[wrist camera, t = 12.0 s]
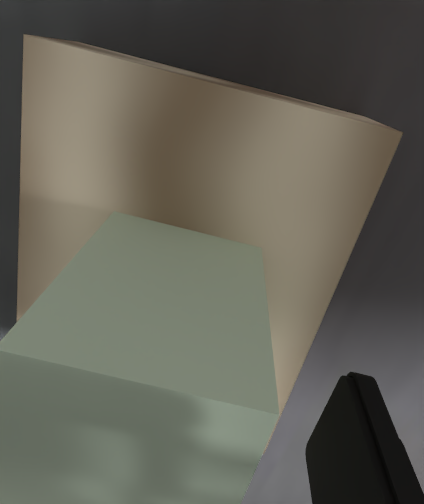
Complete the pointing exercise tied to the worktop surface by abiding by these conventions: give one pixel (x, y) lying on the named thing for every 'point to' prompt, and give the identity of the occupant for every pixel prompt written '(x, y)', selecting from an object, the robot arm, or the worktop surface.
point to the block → (140, 373)
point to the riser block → (194, 175)
